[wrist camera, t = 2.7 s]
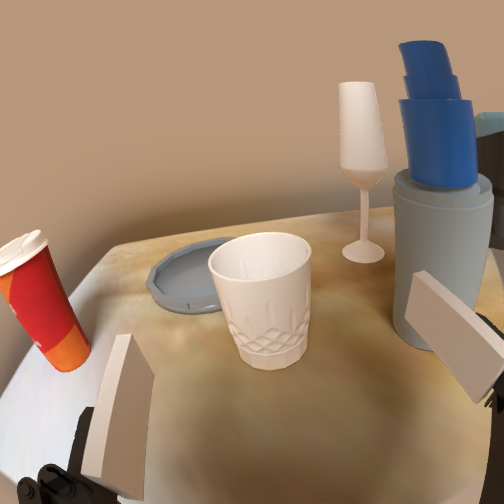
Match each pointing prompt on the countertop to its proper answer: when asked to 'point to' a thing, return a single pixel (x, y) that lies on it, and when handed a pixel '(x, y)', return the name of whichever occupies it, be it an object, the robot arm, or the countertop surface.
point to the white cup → (265, 296)
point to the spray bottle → (438, 187)
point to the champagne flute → (361, 156)
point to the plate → (186, 279)
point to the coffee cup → (41, 301)
